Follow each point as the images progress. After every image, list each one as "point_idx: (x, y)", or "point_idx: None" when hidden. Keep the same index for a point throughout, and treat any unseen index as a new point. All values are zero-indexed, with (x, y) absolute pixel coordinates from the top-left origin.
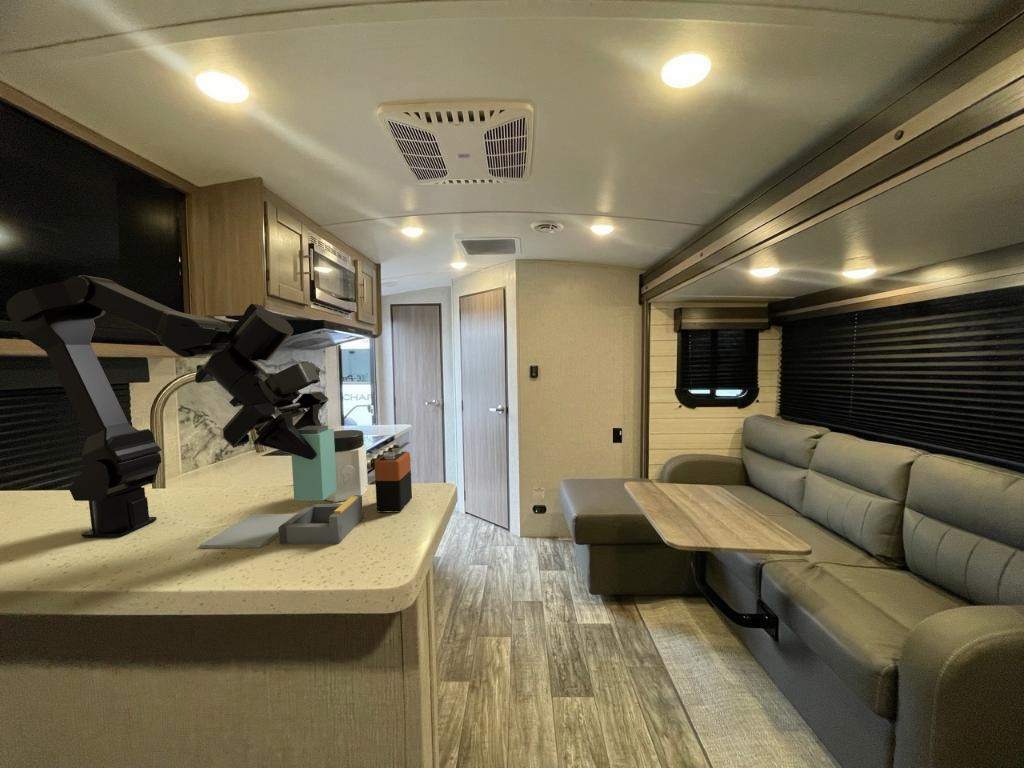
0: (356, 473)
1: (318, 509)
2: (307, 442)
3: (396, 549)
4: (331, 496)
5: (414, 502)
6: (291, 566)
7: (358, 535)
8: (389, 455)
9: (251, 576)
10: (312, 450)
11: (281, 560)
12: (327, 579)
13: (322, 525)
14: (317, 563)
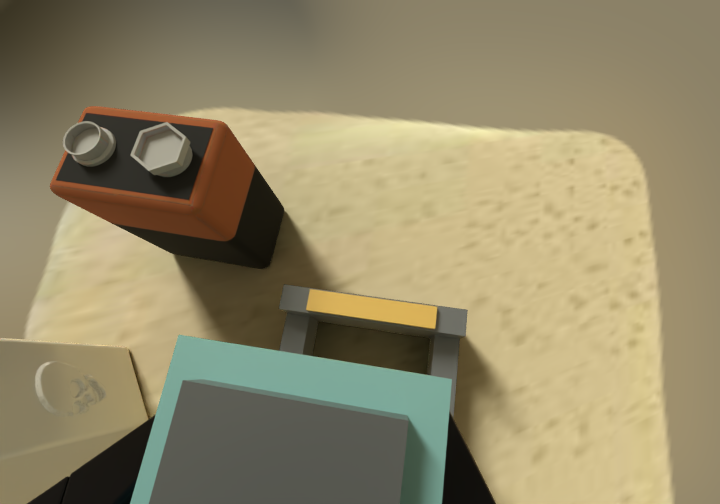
0: (63, 354)
1: None
2: (443, 491)
3: (493, 179)
4: None
5: None
6: (567, 402)
7: (410, 282)
8: (187, 141)
9: (618, 492)
10: (453, 429)
11: (536, 444)
12: (624, 292)
13: (447, 364)
14: (553, 340)
